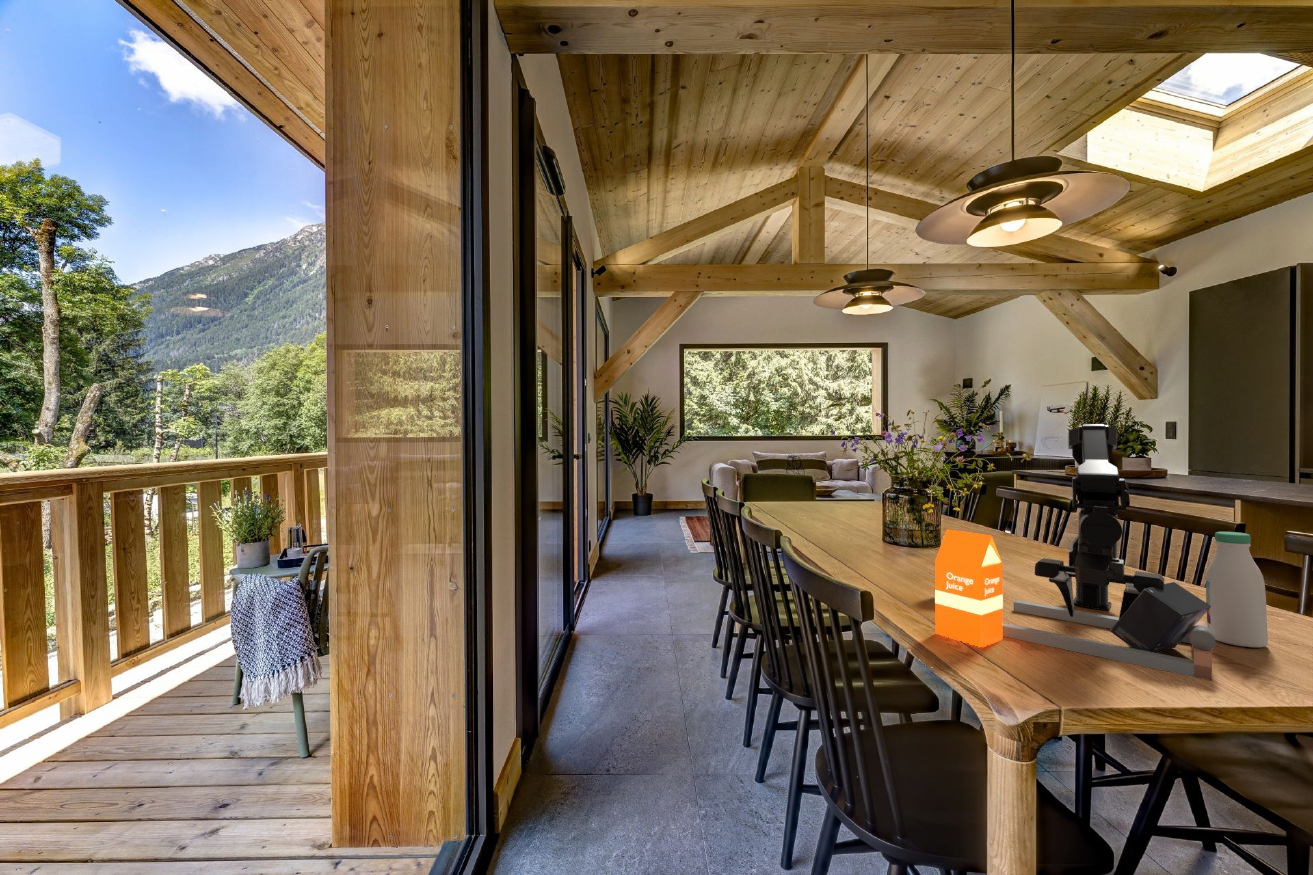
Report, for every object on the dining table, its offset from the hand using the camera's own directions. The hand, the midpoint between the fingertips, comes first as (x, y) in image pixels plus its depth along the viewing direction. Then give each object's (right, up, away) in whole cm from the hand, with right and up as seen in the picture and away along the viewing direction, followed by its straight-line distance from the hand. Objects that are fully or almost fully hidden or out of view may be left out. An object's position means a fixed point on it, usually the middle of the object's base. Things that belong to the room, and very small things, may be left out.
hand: (1095, 620), depth 104 cm
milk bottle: (+25, -3, -2) cm, 25 cm away
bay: (0, -3, 0) cm, 3 cm away
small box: (+5, -2, -5) cm, 7 cm away
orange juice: (-23, -4, +2) cm, 23 cm away
